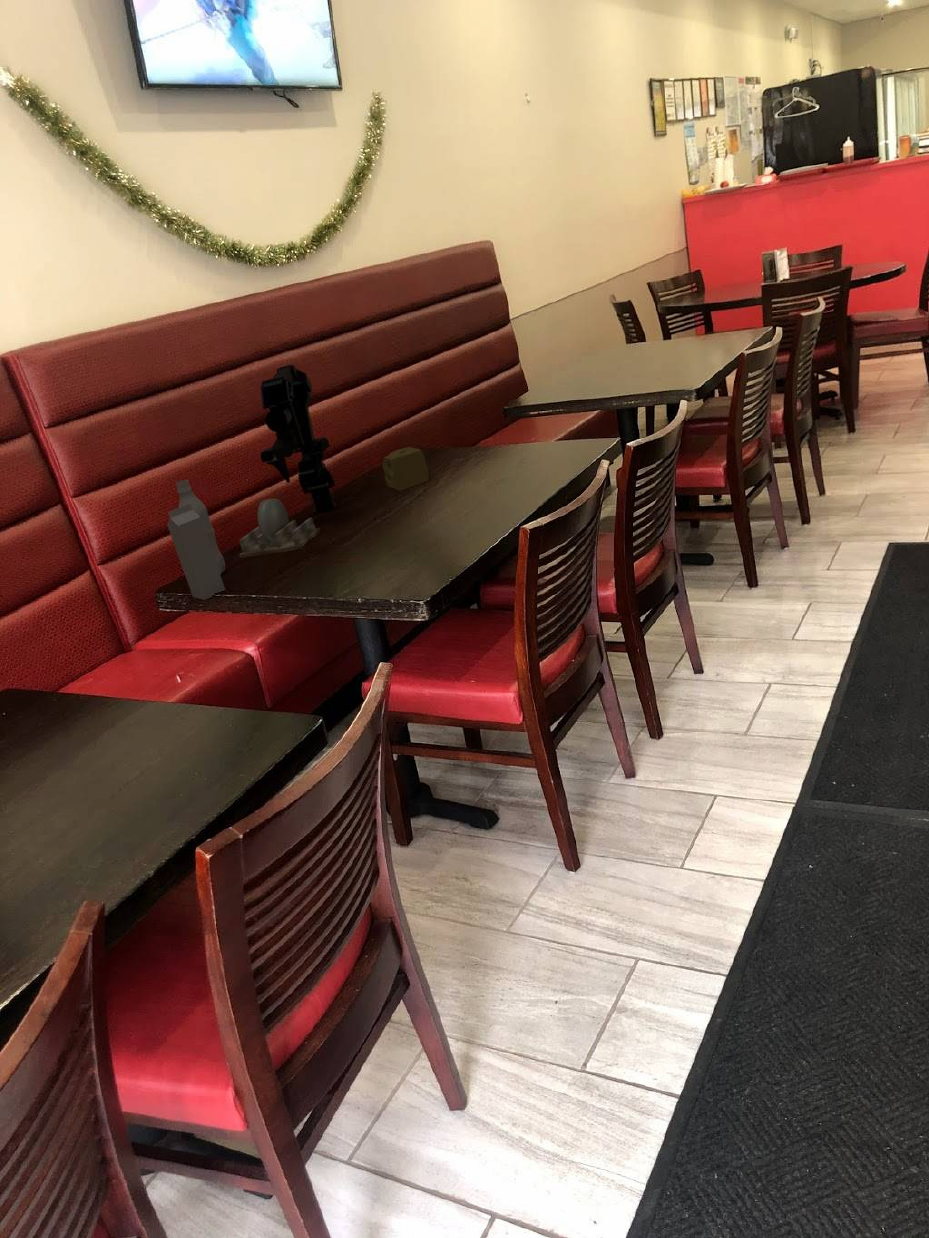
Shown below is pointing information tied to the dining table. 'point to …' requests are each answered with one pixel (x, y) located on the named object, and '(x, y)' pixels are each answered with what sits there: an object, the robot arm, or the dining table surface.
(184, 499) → the water bottle
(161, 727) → the dining table surface
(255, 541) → the dish rack
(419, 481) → the cheese
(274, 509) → the plate
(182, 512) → the milk
